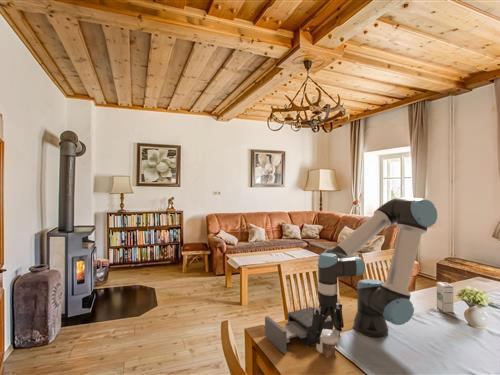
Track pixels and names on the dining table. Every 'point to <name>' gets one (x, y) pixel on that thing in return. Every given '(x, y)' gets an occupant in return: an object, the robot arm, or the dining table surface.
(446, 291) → the syrup box
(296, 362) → the dining table surface
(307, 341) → the housing
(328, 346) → the pedestal
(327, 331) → the disc
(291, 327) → the grey drawer
